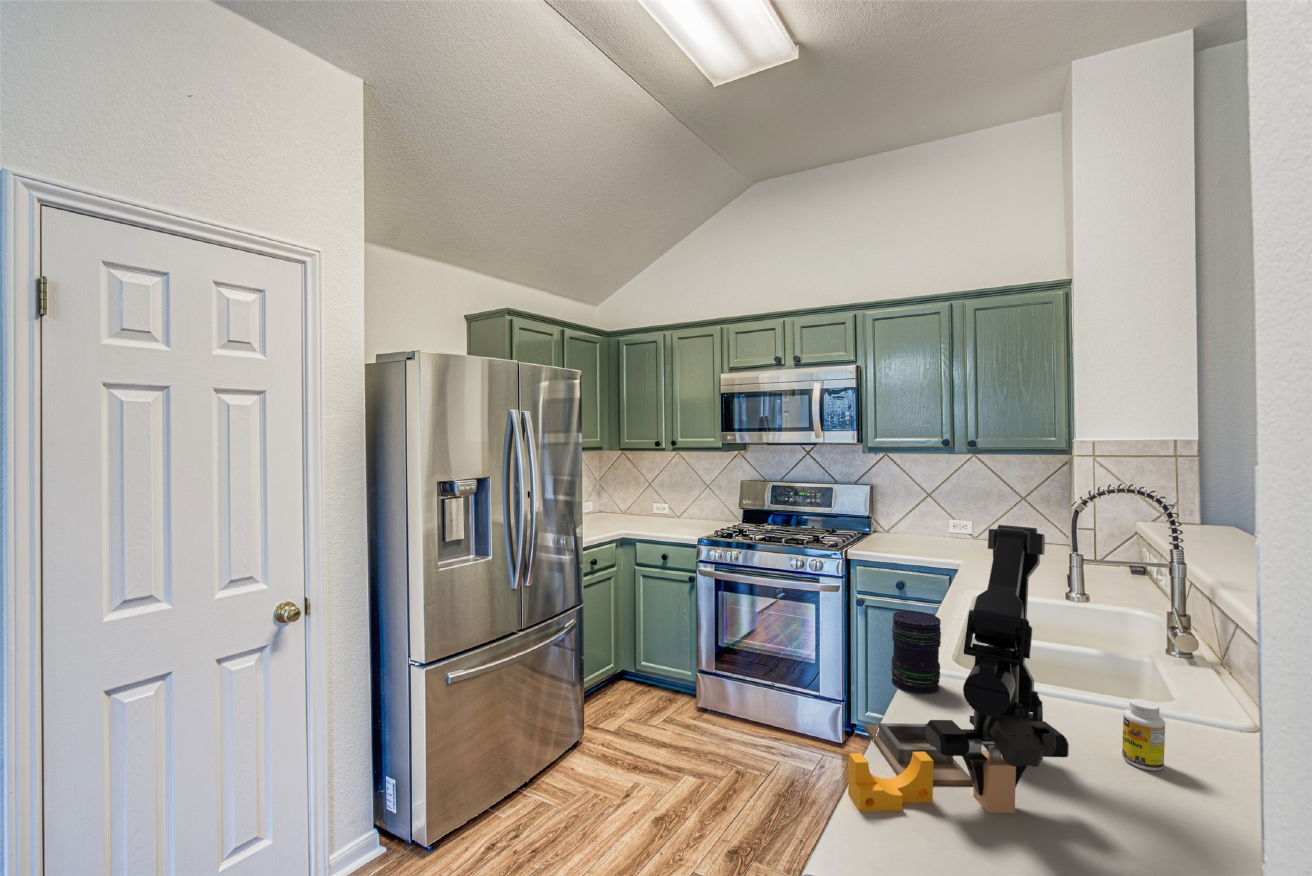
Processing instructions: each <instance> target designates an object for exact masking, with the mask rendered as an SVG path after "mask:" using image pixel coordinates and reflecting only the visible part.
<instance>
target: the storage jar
mask: <svg viewBox="0 0 1312 876" xmlns="http://www.w3.org/2000/svg"><path fill="white" fill-rule="evenodd" d="M892 619H893V620H892V626H891V629H892V634H891V639H892V641H893V653H892V654H893V655H892V657H891V661H890V662H891V664H890V665H891V670H890V671H891V676H892V677H891V684H892V685H893V686H894V687H895V688H896V689H899V690H901V691H904V692H906V693H910V694H915V695H926V696H927V695H933V694H934V695H935V694H937V693H938V692H939V691H940V685H939V683H940V680H941V671H940V670H941V664H940V662H939V661H940V659H939V655H940V652H939V651H940V650H939V649H940V647H941V643H942V642H941V638H942V632H941V624H942V623H941V619H940V617H938V616H936V615H933V614H931V613H926V612H922V611H915V610H900V611H899V610H898V611H895V612H893V615H892Z"/></svg>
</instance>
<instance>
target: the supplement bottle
mask: <svg viewBox="0 0 1312 876" xmlns="http://www.w3.org/2000/svg"><path fill="white" fill-rule="evenodd" d="M1128 705H1129V706H1128V707H1129V708H1127V709H1125V710H1124V711H1123V715H1122V716H1123V717H1122V718H1123V719H1122V721H1123V722H1122V724H1123V725H1122V746H1121V747H1122V748H1121V749H1122V751H1121V753H1122V755H1121V756H1122V758H1123V759H1124V760H1125V761H1126V762H1127V763H1128V764H1130V765H1132V766H1134V767H1136V768H1137V769H1138V768H1139V769H1140V770H1141V769H1142V770H1145V771H1154V772H1157V771H1161V770H1163V769H1164V766H1165V747H1166V746H1165V745H1166V743H1165V742H1166V741H1165V740H1166V721H1165V719H1164V718H1163V717H1161V716H1160V713H1161V712H1160V706H1159V705H1158V704H1157V703H1155V702H1152V701H1149V700H1145V699H1140V698H1132V699H1130V700H1129V704H1128Z"/></svg>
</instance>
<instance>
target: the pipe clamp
mask: <svg viewBox="0 0 1312 876" xmlns="http://www.w3.org/2000/svg"><path fill="white" fill-rule="evenodd" d="M848 785H849V786H848ZM847 786H848V787H847V791H848V792H847V795H848V796H849V798H850V799H851V800H852V802H853V804H854V806H855V808H857V810H858V811H859V812H889V811H894V812H895V811H903V804H908V803H909V804H911V803H933V801H934V800H933V794H934V793H933V792H934V785H933V760H932V759H931V758H930V756H929V755H928V754H927V753H926V752H913V753H912V759H911V762H910V764H909V766H908V767H907V768H906V770H905V771H904V772H903V773H901V774H900V775H898V776H897V775H895V776H894V777H890V778H883V777H882V778H881V777H878V776H876V775H874V774H872V773H871V771H870V766H869V762H868V759H866V757H865V756H864V755H863V753H862V752H856V753H855V752H851V753H848V784H847Z"/></svg>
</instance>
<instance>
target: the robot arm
mask: <svg viewBox="0 0 1312 876" xmlns="http://www.w3.org/2000/svg"><path fill="white" fill-rule="evenodd" d="M987 534H988V535H987V536H988V537H987V549H988V550H992V563H991V569H990V573H989V578H988V579H989V580H988V585H987V589H986V590H984V591H983V592H981V593H980V594H978V595H977V596H976V598H975V602H974V607H973V609H969V612H968V617H967V623H966V630H965V631H966V632H965V639H964V645H963V655H965V656H971V657H974V665H973V666H972V669H971V671H970V672H969V674H968V676H967V678H966V679H965V681H964V683H963V687H962V691H963V696H964V698H965V701H966V703H967V704H968V706H969V707H971V709H972V710H973V715H969V723H970V725H972V726H973V728H971V729H969V728H967V729H966V728H965V729H964V728H963V729H962V728H960V726H958V724H957V723H955V721H954V720H952V719H930V720H929V721H927V723H925V724H926V726H925V737H926V738H927V739H928V740H929V741H930V742H931V744H932V745H933V746H934V747H935V748H936V749H937V750H938V751H939V753H940V754H943V755H945V756H953V757H962V759H963V760H964V763H965V766H966V768H967V770H968V773H969V774H968V775H969V776H970V777H971V779H972V782H973V788H974V787H975V790H976V792H977V793H978V794H979V795H980V796H982V795H983V788H984V782H983V764H984V763H985V762H986V761H987V758H986V757H985V756H984V755H983V754H982V753H981V751H982V750H983V749H982V748H983V747H982V746H985V748H986V749H987V750H989V745H996V747H997V748H998V750H999V751H1000V753H1001V755H1002V757H1003V759H1004V761H1005V762H1006V763H1007V764H1009V765H1011V766H1015V767H1016V784H1015V789H1016V788H1017V786H1018V783H1019V781H1020V780H1021V778H1022V775H1023V773H1024V772H1025V770H1026V769H1027V767H1028V766H1031V767H1033V768H1036V767H1039V766H1040V764H1041V762H1042V761H1043V759H1044V758H1048V757H1049V758H1068V757H1069V753H1070V751H1069V749H1070V745H1069V741H1068V739H1067V738H1066V736H1065V735H1063V733H1061V732H1060V731H1058V730H1057V729H1056V728H1054V727H1053V726H1052V725H1050V724H1049V723H1048V722H1046V721H1045V720H1043V719H1044V711H1043V710H1044V709H1043V708H1044V707H1043V701H1042V700H1041V699H1040V696H1039V691H1035V679H1034V678H1033V676H1032V674H1031V672H1030V670H1029V668H1028V666H1027V665H1026V659H1031V650H1032V640H1033V627H1032V626H1031V624H1030V621H1029V619H1028V602H1029V598H1028V597H1029V579H1030V577H1031V576H1032V574H1034V572H1035V571H1036V569H1038V567H1039V565H1040V563H1041V556H1044V555H1045V551H1046V549H1045V548H1046V537H1045V534H1043V533H1038V528H1037V527H1029V526H1028V527H1027V526H1018V525H1008V524H1007V525H1006V524H998V526H997V528H988V533H987ZM973 636H974V637H973ZM973 638H974V640H975V641H976V643H973ZM979 643H980V644H979Z"/></svg>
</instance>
